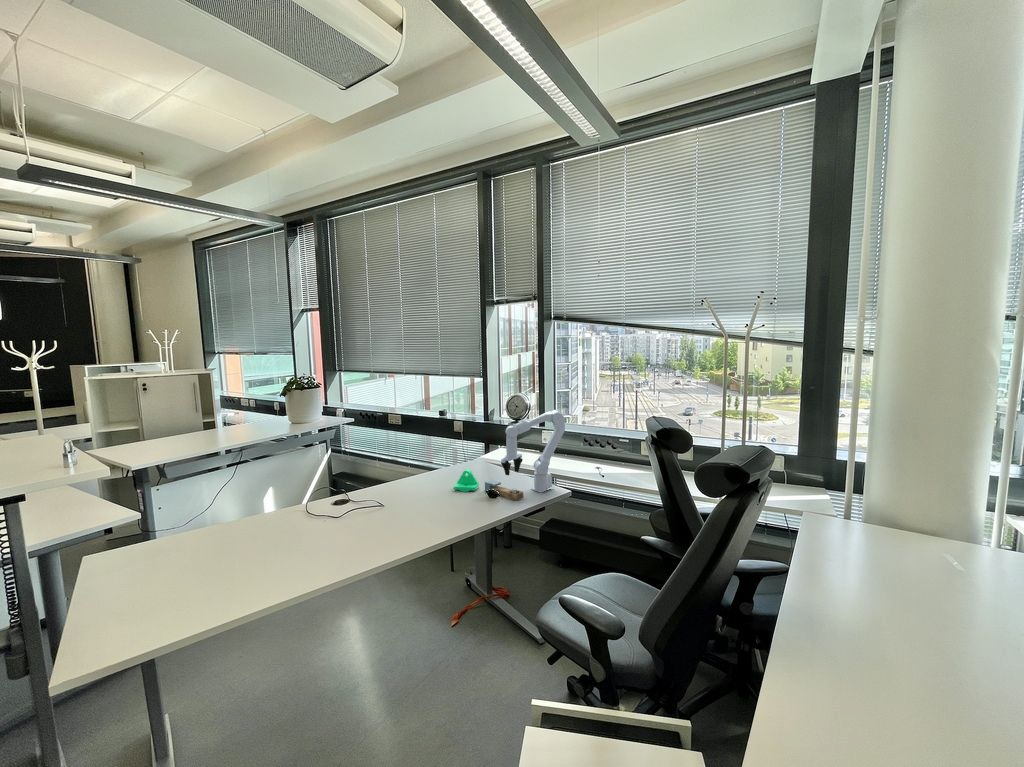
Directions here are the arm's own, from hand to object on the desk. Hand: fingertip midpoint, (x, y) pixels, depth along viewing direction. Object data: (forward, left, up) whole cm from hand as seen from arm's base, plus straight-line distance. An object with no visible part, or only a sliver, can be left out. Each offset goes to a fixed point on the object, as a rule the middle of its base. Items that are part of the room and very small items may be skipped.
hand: (512, 473), depth 239 cm
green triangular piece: (+17, -19, -10) cm, 28 cm away
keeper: (+8, -6, -10) cm, 14 cm away
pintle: (+6, +9, -10) cm, 14 cm away
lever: (+6, +3, -10) cm, 12 cm away
